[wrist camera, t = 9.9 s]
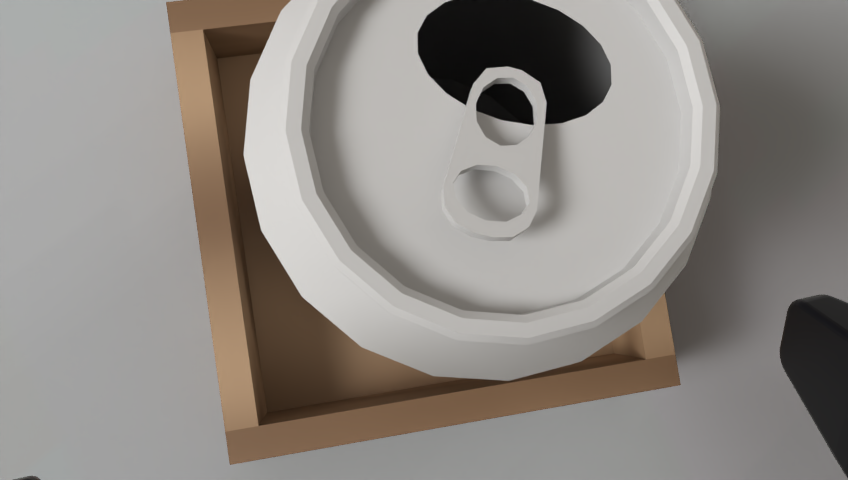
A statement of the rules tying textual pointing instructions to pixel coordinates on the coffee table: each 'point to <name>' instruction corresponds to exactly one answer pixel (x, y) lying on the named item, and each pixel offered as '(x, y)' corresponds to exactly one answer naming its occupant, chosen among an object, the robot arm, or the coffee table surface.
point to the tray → (301, 322)
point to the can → (482, 171)
